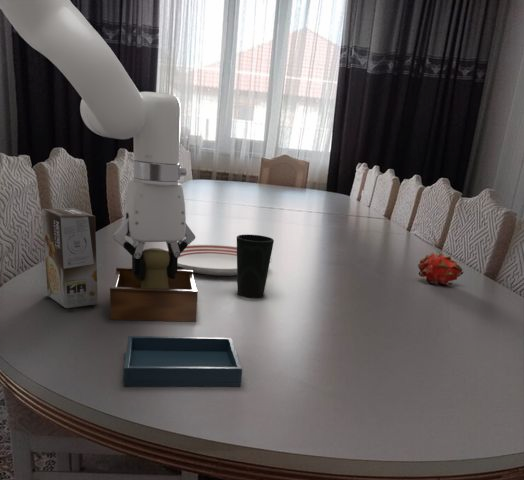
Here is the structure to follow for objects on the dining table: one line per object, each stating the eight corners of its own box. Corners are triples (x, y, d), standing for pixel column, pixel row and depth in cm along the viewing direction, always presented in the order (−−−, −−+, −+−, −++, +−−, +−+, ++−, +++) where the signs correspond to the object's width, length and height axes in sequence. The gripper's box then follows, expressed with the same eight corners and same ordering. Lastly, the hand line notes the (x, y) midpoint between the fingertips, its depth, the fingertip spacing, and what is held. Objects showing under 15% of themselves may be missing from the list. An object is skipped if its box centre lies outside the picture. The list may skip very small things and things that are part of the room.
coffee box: (99, 304, 95) (97, 215, 89) (65, 309, 91) (60, 216, 85) (78, 291, 101) (75, 207, 95) (45, 295, 97) (39, 207, 91)
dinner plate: (152, 276, 117) (152, 261, 116) (168, 251, 142) (169, 239, 141) (273, 285, 119) (274, 271, 117) (268, 259, 144) (269, 247, 143)
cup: (229, 296, 108) (233, 238, 103) (236, 287, 115) (240, 233, 110) (265, 301, 107) (271, 243, 102) (270, 292, 114) (275, 237, 109)
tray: (123, 386, 66) (123, 367, 66) (128, 352, 77) (128, 335, 76) (240, 386, 70) (242, 368, 69) (230, 353, 80) (231, 337, 79)
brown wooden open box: (110, 319, 89) (109, 288, 86) (116, 294, 102) (116, 266, 100) (196, 322, 91) (197, 291, 89) (191, 297, 105) (192, 270, 103)
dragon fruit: (409, 284, 139) (453, 296, 138) (420, 272, 130) (466, 285, 130) (415, 256, 141) (458, 268, 140) (426, 242, 132) (472, 255, 132)
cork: (134, 303, 98) (134, 245, 94) (165, 301, 101) (166, 245, 96) (142, 313, 93) (143, 253, 89) (175, 311, 96) (177, 252, 91)
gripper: (194, 174, 95) (190, 270, 102) (99, 168, 86) (102, 274, 93) (211, 178, 89) (206, 281, 96) (111, 173, 81) (113, 286, 87)
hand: (154, 277), depth 94 cm, fingers closed on cork, 5 cm apart
